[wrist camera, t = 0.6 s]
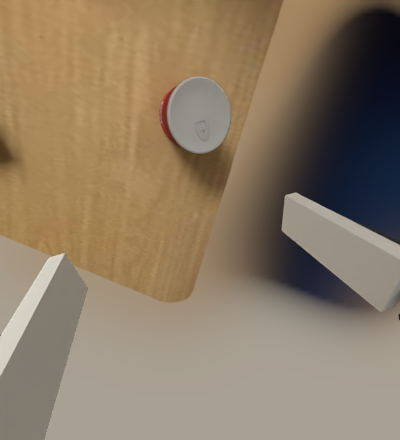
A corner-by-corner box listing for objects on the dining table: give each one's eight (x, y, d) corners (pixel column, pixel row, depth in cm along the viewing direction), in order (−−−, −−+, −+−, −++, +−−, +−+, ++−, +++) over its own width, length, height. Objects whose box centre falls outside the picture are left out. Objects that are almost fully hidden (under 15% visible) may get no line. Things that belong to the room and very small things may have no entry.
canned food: (177, 152, 34) (192, 166, 24) (147, 107, 29) (152, 103, 20) (213, 126, 33) (242, 130, 24) (188, 76, 29) (211, 58, 20)
